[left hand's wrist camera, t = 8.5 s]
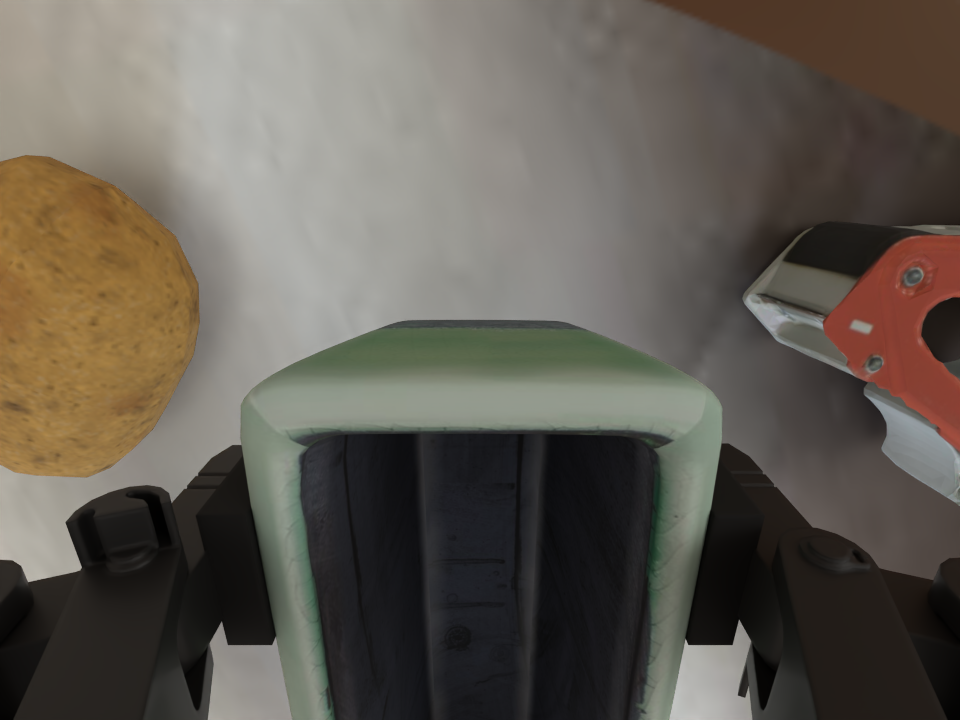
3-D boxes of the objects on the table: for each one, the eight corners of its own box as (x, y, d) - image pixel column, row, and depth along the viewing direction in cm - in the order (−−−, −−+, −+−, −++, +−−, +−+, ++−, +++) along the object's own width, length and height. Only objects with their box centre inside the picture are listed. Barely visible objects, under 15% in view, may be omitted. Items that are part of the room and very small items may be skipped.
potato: (-36, 346, 24) (-227, 418, 17) (74, 107, 20) (-117, 85, 14) (150, 454, 26) (41, 553, 19) (280, 256, 22) (199, 298, 16)
